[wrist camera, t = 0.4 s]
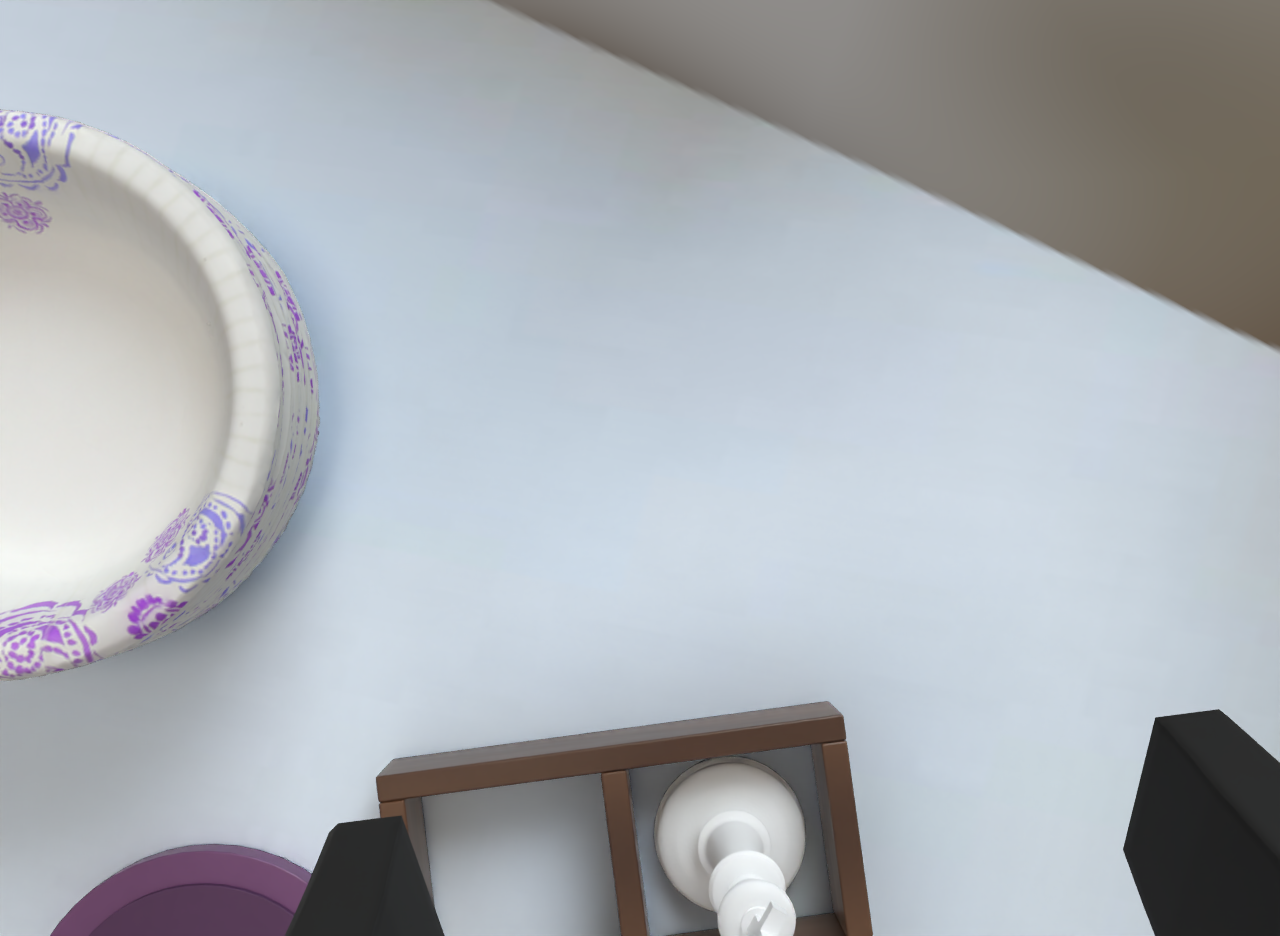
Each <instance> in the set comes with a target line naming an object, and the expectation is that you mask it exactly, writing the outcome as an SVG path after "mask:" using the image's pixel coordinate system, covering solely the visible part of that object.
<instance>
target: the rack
mask: <svg viewBox="0 0 1280 936" xmlns="http://www.w3.org/2000/svg"><path fill="white" fill-rule="evenodd" d="M845 739H846V732H845V725H844V717H843V715H842V714H841V713H840V712H839V711H838V710H837V709H836V708H835V707H834V706H833V705H832V704H831V703H830V702H828V701H826V702H818V703H811V704H803V705H796V706H788V707H781V708H773V709H766V710H758V711H751V712H743V713H736V714H728V715H721V716H713V717H706V718H698V719H691V720H683V721H676V722H668V723H661V724H653V725H646V726H638V727H631V728H623V729H616V730H608V731H601V732H593V733H586V734H578V735H571V736H563V737H556V738H548V739H541V740H533V741H526V742H518V743H511V744H503V745H496V746H488V747H481V748H473V749H466V750H458V751H451V752H443V753H436V754H428V755H421V756H413V757H406V758H398V759H393V760H392V761H391V762H390V763H389V764H388V765H387V766H386V767H385V768H384V769H383V770H382V772H381V773H380V774H379V775H378V776H377V777H376V785H377V793H378V800H379V802H380V804H379V809H380V817H381V818H385V817H393V816H401V815H402V818H403V821H404V824H405V826H406V829H407V832H408V835H409V838H410V840H411V843H412V846H413V849H414V852H415V854H416V857H417V860H418V863H419V866H420V869H421V871H422V874H423V877H424V880H425V883H426V885H427V888H428V891H429V894H430V897H431V899H432V902H433V905H434V899H433V891H432V883H431V875H430V867H429V859H428V851H427V842H426V834H425V826H424V818H423V810H422V802H421V797H424V796H432V795H439V794H447V793H454V792H462V791H469V790H477V789H484V788H492V787H499V786H506V785H514V784H521V783H529V782H536V781H544V780H551V779H559V778H566V777H574V776H581V775H589V774H596V773H601V782H602V790H603V797H604V805H605V813H606V821H607V829H608V836H609V844H610V852H611V860H612V868H613V875H614V883H615V891H616V899H617V907H618V914H619V922H620V930H621V936H650V931H649V924H648V916H647V908H646V900H645V893H644V885H643V877H642V869H641V862H640V854H639V846H638V838H637V831H636V823H635V815H634V807H633V800H632V792H631V784H630V776H629V769H633V768H641V767H648V766H656V765H663V764H671V763H678V762H686V761H693V760H701V759H708V758H716V757H723V756H731V755H738V754H745V753H753V752H760V751H768V750H775V749H783V748H790V747H798V746H805V745H811V750H812V757H813V764H814V772H815V779H816V787H817V794H818V802H819V809H820V816H821V824H822V831H823V839H824V846H825V854H826V861H827V868H828V876H829V883H830V891H831V898H832V906H833V911H834V913H829V914H822V915H815V916H807V917H800V918H796V926H795V931H794V934H793V936H872V935H873V931H872V924H871V916H870V909H869V902H868V894H867V887H866V880H865V872H864V865H863V858H862V850H861V843H860V835H859V828H858V821H857V813H856V806H855V799H854V791H853V784H852V776H851V769H850V762H849V754H848V747H847V742H846V741H845ZM668 936H721V935H720V932H719V929H712V930H705V931H697V932H690V933H682V934H675V935H668Z"/></svg>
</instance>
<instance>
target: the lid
mask: <svg viewBox="0 0 1280 936" xmlns="http://www.w3.org/2000/svg"><path fill="white" fill-rule="evenodd" d="M311 875H312V874H311V873H309V872H308V871H306V870H305V869H303V868H301V867H299V866H297V865H295V864H293V863H291V862H289V861H287V860H285V859H283V858H281V857H278V856H275V855H272V854H269V853H266V852H264V851H261V850H256V849H251V848H246V847H241V846H234V845H219V844H208V845H194V846H186V847H181V848H176V849H171V850H167V851H164V852H161V853H158V854H155V855H152V856H149V857H146V858H144V859H142V860H140V861H137V862H135V863H133V864H131V865H129V866H127V867H125V868H123V869H122V870H120V871H119V872H117V873H116V874H114V875H113V876H111V877H110V878H108V879H107V880H105V881H104V882H102V883H101V884H100V885H98V886H97V887H95V888H94V889H93V890H92V891H90V892H89V893H88V894H87V895H86V896H85V897H83V898H82V899H81V900H80V901H79V902H78V903H77V904H75V905H74V907H73V908H72V909H71V910H70V911H69V912H68V913H67V914H66V916H65V917H64V918H63V919H62V920H61V921H60V922H59V924H58V925H57V927H56V928H55V929H54V931H53V932H52V934H51V935H50V936H285V934H286V932H287V930H288V927H289V925H290V923H291V921H292V919H293V916H294V914H295V912H296V910H297V907H298V905H299V903H300V901H301V898H302V896H303V894H304V892H305V889H306V887H307V885H308V882H309V880H310V878H311Z"/></svg>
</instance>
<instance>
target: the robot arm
mask: <svg viewBox="0 0 1280 936" xmlns="http://www.w3.org/2000/svg"><path fill="white" fill-rule="evenodd" d="M1123 851H1124V853H1125V856H1126V859H1127V862H1128V864H1129V867H1130V870H1131V873H1132V875H1133V878H1134V881H1135V884H1136V886H1137V889H1138V892H1139V895H1140V897H1141V900H1142V903H1143V906H1144V908H1145V911H1146V913H1147V916H1148V918H1149V921H1150V924H1151V926H1152V929H1153V931H1154V934H1155V936H1280V763H1279V762H1278V761H1277V760H1276V759H1275V758H1274V757H1273V756H1272V755H1270V754H1269V753H1268V752H1267V751H1266V750H1265V749H1264V748H1263V747H1262V746H1260V745H1259V744H1258V743H1257V742H1256V741H1255V740H1254V739H1253V738H1251V737H1250V736H1249V735H1248V734H1247V733H1246V732H1245V731H1244V730H1242V729H1241V728H1240V727H1239V726H1238V725H1237V724H1236V723H1235V722H1233V721H1232V720H1231V719H1230V718H1229V717H1228V716H1227V715H1225V714H1224V713H1223V712H1222V711H1220V710H1219V709H1218V710H1210V711H1203V712H1195V713H1187V714H1179V715H1172V716H1164V717H1156V718H1155V721H1154V725H1153V729H1152V733H1151V738H1150V742H1149V746H1148V750H1147V754H1146V758H1145V762H1144V766H1143V770H1142V774H1141V778H1140V783H1139V787H1138V791H1137V795H1136V799H1135V803H1134V807H1133V811H1132V815H1131V819H1130V823H1129V827H1128V832H1127V836H1126V840H1125V844H1124V848H1123ZM285 936H444V933H443V930H442V928H441V925H440V922H439V919H438V916H437V914H436V911H435V908H434V905H433V902H432V899H431V897H430V894H429V891H428V888H427V885H426V883H425V880H424V877H423V874H422V871H421V869H420V866H419V863H418V860H417V857H416V854H415V852H414V849H413V846H412V843H411V840H410V838H409V835H408V832H407V829H406V826H405V824H404V821H403V818H402V815H401V816H393V817H385V818H377V819H370V820H362V821H354V822H347V823H339V824H337V825H336V826H335V827H334V828H333V829H332V830H331V831H330V832H329V834H328V837H327V839H326V842H325V844H324V846H323V849H322V851H321V854H320V856H319V859H318V861H317V864H316V866H315V868H314V871H313V873H312V875H311V878H310V880H309V882H308V885H307V887H306V889H305V892H304V894H303V896H302V898H301V901H300V903H299V905H298V907H297V910H296V912H295V914H294V916H293V919H292V921H291V923H290V925H289V927H288V930H287V932H286V934H285Z"/></svg>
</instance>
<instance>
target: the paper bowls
mask: <svg viewBox="0 0 1280 936" xmlns="http://www.w3.org/2000/svg"><path fill="white" fill-rule="evenodd" d="M319 424H320V417H319V391H318V375H317V368H316V363H315V358H314V353H313V350H312V345H311V339H310V335H309V333H308V330H307V326H306V323H305V319H304V316H303V313H302V311H301V309H300V306H299V304H298V302H297V299H296V297H295V295H294V293H293V291H292V288H291V286H290V284H289V282H288V280H287V278H286V276H285V274H284V273H283V271H282V270H281V268H280V267H279V265H278V264H277V263H276V261H275V260H274V259H273V257H272V256H271V255H270V253H269V252H268V251H267V250H266V249H265V248H264V247H263V246H262V245H261V243H260V242H259V241H258V240H257V239H256V238H255V237H254V236H253V235H252V233H251V232H250V231H249V230H248V229H247V228H245V227H244V226H243V225H242V224H241V223H240V222H239V221H238V220H237V219H236V218H235V217H234V216H233V215H232V214H231V213H230V212H228V211H227V210H226V209H225V208H223V207H222V206H221V205H220V204H219V203H218V202H217V201H215V200H214V199H213V198H212V197H210V196H209V195H208V194H206V193H205V192H203V191H202V190H201V189H200V188H198V187H197V186H195V185H194V184H192V183H191V182H189V181H188V180H187V179H186V178H184V177H183V176H181V175H179V174H178V173H176V172H174V171H172V170H171V169H169V168H168V167H167V166H165V165H164V164H162V163H161V162H159V161H158V160H157V159H155V158H154V157H152V156H151V155H150V154H148V153H147V152H145V151H143V150H141V149H140V148H138V147H136V146H134V145H132V144H130V143H129V142H127V141H124V140H121V139H119V138H117V137H115V136H113V135H111V134H109V133H107V132H105V131H102V130H99V129H96V128H93V127H90V126H88V125H85V124H83V123H81V122H77V121H72V120H68V119H65V118H61V117H57V116H51V115H46V114H38V113H30V112H23V111H13V110H2V109H0V681H11V680H21V679H27V678H33V677H40V676H45V675H48V674H52V673H57V672H61V671H65V670H69V669H73V668H77V667H81V666H85V665H88V664H91V663H94V662H96V661H100V660H103V659H106V658H109V657H112V656H114V655H117V654H120V653H123V652H126V651H129V650H133V649H135V648H137V647H140V646H142V645H145V644H147V643H150V642H153V641H155V640H157V639H159V638H161V637H163V636H165V635H168V634H170V633H172V632H174V631H177V630H179V629H180V628H182V627H184V626H185V625H187V624H188V623H190V622H192V621H193V620H195V619H197V618H199V617H201V616H202V615H204V614H206V613H207V612H208V611H209V610H211V609H212V608H214V607H216V606H217V605H218V604H219V603H220V602H221V601H223V600H224V599H225V598H226V597H227V596H228V595H230V594H231V593H233V592H234V591H235V590H236V589H237V588H238V587H239V586H240V584H241V583H242V582H243V581H244V580H246V579H247V578H248V577H249V576H250V575H251V573H252V571H253V569H254V568H255V567H256V566H258V565H259V564H260V563H261V562H262V560H263V559H264V558H265V556H266V555H267V554H268V552H269V551H270V550H271V549H272V547H273V546H274V545H275V543H276V542H277V541H278V539H279V538H280V536H281V535H282V533H283V532H284V531H285V529H286V527H287V525H288V522H289V520H290V518H291V516H292V515H293V513H294V511H295V510H296V507H297V503H298V501H299V499H300V497H301V496H302V494H303V492H304V489H305V486H306V482H307V479H308V476H309V474H310V471H311V468H312V464H313V458H314V454H315V448H316V444H317V437H318V435H319V431H318V427H319Z"/></svg>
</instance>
